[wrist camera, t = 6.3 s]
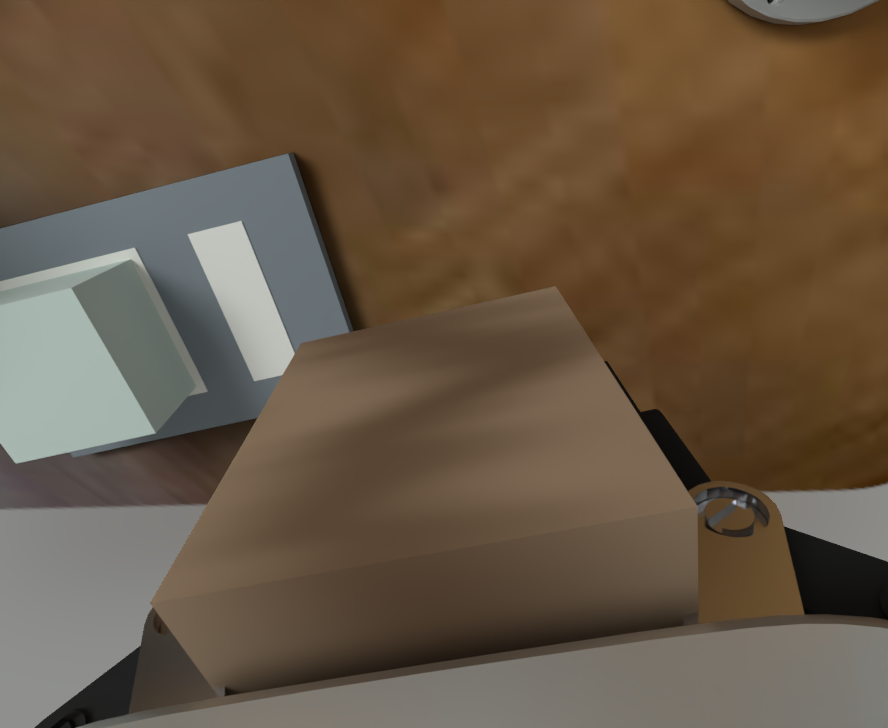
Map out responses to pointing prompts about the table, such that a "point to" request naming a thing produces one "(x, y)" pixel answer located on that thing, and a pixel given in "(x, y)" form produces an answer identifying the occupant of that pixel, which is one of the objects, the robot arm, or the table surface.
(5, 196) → the table surface
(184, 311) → the board
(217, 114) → the table surface
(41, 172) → the table surface
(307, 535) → the walnut block
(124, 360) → the base block
